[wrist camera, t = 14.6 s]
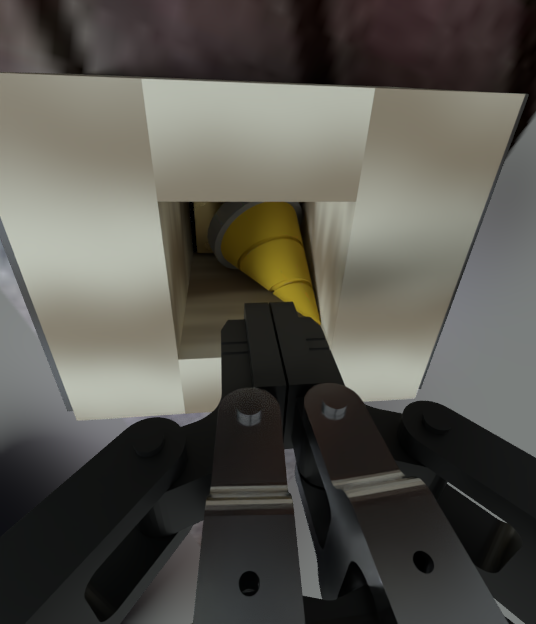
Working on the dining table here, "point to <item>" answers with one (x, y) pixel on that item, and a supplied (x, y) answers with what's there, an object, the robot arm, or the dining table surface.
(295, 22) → the dining table surface
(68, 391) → the socket block
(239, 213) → the drill bit
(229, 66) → the dining table surface
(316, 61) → the dining table surface
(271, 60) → the dining table surface
